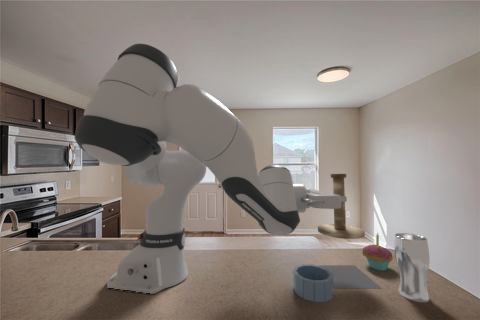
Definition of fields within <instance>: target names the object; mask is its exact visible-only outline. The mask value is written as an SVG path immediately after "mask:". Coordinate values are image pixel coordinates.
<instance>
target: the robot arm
mask: <svg viewBox="0 0 480 320" xmlns="http://www.w3.org/2000/svg"><path fill="white" fill-rule="evenodd" d="M178 75H179V74H178V71H177V68H176V65H175V64H174V62H173V61H172V60H171V58H170V57H169V56H167V54H166V53H164V52H163V51H162V50H160V49H158V48H157V47H155V46H152V45H150V44H146V43H135V44H132V45H130V46H128V47H127V48H125V49H124V51H122V52H121V53H120V54H119V55H118V57H117V61H116V62H114V63H113V64H112V66H111V67H110V68H109V70H107V72H106V73H105V74H104V76H103V77H102V79H101V80H100V82H99V83H98V86H97V88H96V90H95V91H94V94H93V96H92V97H91V98H90V99H91V100H90V101H89V102H88V104H86V106H85V109H84V112H83V115H81V116H80V117H79V119H78V121H77V125H76V128H75V132H74V140H75V142H76V143H77V146H79V148H80V149H81V150H82V151H84V152H85V153H87V155H89V156H90V157H92V158H93V159H95V160H97V161H99V162H101V163H104V164H107V165H112V166H122V167H123V173H124V176H125V179H126V180H127V181H128V182H129V183H132V184H135V185H142V186H153V187H154V186H163V191H162V193H161V195H160V196H158V197H156V198H154V199H152V200H151V201H150V202H149V203H148V205H147V207H146V210H145V229H144V230H143V232H141V233H140V234H139V235H138V236H137V239H136V240H137V241H139V243H138V244H137V245H136V246H135V247H134V248H133V249H131V250H130V251H129V252H128V253H126V254H125V255H123V257H122V258H121V260H120V261H119V263H118V265H117V269H116V272H115V273H114V274H113V275H112V276H110V278H109V279H108V280H107V283H106V288H107V289H108V288H117V289H126V290H132V291H136V292H135V293H138V292H143V293H142V294H146V293H150V294H149V295H153V294H156V293H159V292H161V291H163V290H164V289H167V288H170V287H173V286H177V285H178V284H180V283H182V282H183V281H184V280H186V278H187V277H189V269H188V266H187V262H186V257H185V256H186V255H185V245H186V232H185V227H184V219H185V218H184V217H185V215H184V214H185V207H186V205H185V204H186V201H187V199H188V197H189V194H190V193H191V191H192V190H193V189H194V188H195V186H197V185H198V184H200V183H201V182H202V181H203V179H204V177H205V176H206V172H207V169H209V171H210V173H212V174H213V175H214V177H215V178H216V179H217V181H218V183H219V184H220V185H221V188H222V189H223V191H224V193H225V194H226V196H228V198H230V199H231V201H233V202H234V203H235V204H236V205H237V206H238V207H240V208H241V209H243V210H244V211H245V212H246V213H247V214H248V215H250V216H251V217H252V218H254V219H255V220H256V221H257V223H258V225H259V226H260V227H261V229H262V230H264V231H265V232H266V233H268V234H271V235H275V236H284V235H289V234H292V233H293V232H294V231H295V230H296V228H297V227H298V225H299V224H300V222H301V219H300V215H299V213H301V214H302V213H305V212H306V210H307V209H310V208H313V209H320V210H321V209H323V210H324V209H325V210H328V209H329V210H334V209H339V208H341V202H345V203H346V202H347V200H348V199H347V198H348V197H347V196H346V195H345V196H340V195H336V194H333V193H331V192H327V191H326V192H325V191H321V190H318V189H311V188H309V187H306V186H305V185H304V184H303V183H294V182H293V177H292V173H291V171H290V170H289V169H288V168H287V167H285V166H283V165H280V164H271V165H270V164H269V165H266V166H264V167H262V168H261V170H260V171H259V173H258V170H257V162H256V161H257V160H256V153H255V145H254V142H253V139H252V136H251V135H250V133H249V131H248V130H247V127H246V126H245V125H244V123H243V122H242V121H241V120H240V119H239V118H238V117H237V116H236V115H235V114H234V113H233V112H232V111H231V110H230V109H229V108H228V107H227V106H225V105H224V104H223V103H222V102H220V100H218V99H217V98H215V97H214V95H212V94H210V93H209V92H207V91H206V90H204V89H202V88H201V87H199V86H198V85H194V84H190V83H185V84H181V85H178ZM177 85H178V86H177ZM167 143H171V144H173V145H176V146H178V147H180V148H181V150H167V147H168V146H167Z"/></svg>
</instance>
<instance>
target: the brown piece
mask: <svg viewBox="0 0 480 320" xmlns="http://www.w3.org/2000/svg"><path fill="white" fill-rule="evenodd" d="M330 178H331V179H332V187H333V188H332V189H333V190H332V191H333V193H332V194H336V195H340V196H346V193H345V192H346V190H345V178H347V173H330ZM346 219H347V218H346V202H341V208H339V209H333V220H334V221H333V222H334V223H325V224H320V225H317V231H318V233H319V234H321V235H323V236H327V237H331V238H336V239H344V240H356V239H357V240H358V239H362V238H364V237H365V235H366V233H365V232H366V231H365V230H364V229H362V228H360V227H356V226H353V225H349V224H348V225H347V223H346Z"/></svg>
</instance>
